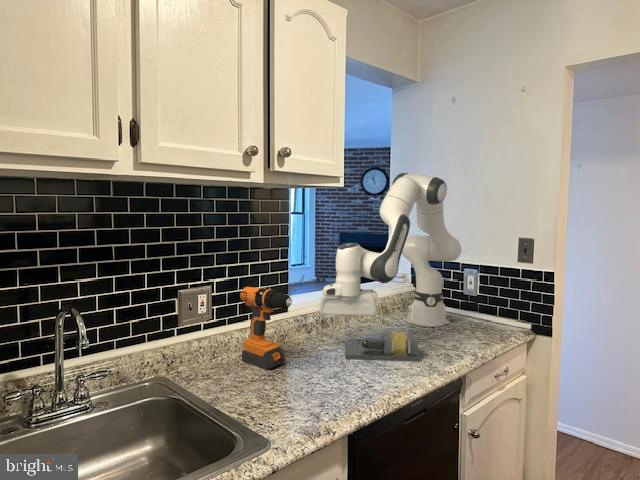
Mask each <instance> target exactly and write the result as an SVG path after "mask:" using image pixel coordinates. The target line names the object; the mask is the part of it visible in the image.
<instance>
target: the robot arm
mask: <svg viewBox="0 0 640 480" xmlns="http://www.w3.org/2000/svg"><path fill="white" fill-rule="evenodd" d="M391 184H392V185H391V187H390V188H389V189H388V191H387V193H386V195H385V196H384V198H383V199H382V202H381V204H380V207H379V210H378V211H379V216H380V218H381V219H382V221H383V222H384V223H385V224H386V225H387V226H388V227H390V235H389V236H388V237H389V238H388V240H387V243H386V247H385V249H384V250H383V251H382V252H374V251H370V250H368V249H365V248H363V247H362V246H361V245H360V244H359V243H356V242H344V243H342V244H340V245H339V246H338V248H337V250H336V256H335V271H336V275H335V276H336V277H335V282H334V283H330V284H328V285H325V286H324V287H323V289H322V295H321V297H320V302H319V306H318V307H319V310H318V312H319V314H320V315H322V316H323V315H325V316H340V320H341V322H342V323H343V324H342V325H343V326H342V327H343V328H352V323H353V322H354V320H355V316H356V317H357V316H358V317H359V316H360V317H361V316H362V317H364V316H365V317H374V316H375V315H377V306H376V302H377V301H378V293H377V291H376V290H374V289H370V288H369V289H365V288H364V289H363V288H361V285H362V284H361V278H362V277H363V278H366V279H370V280H373V281H376V282H379V283H381V284H388V283H390V282H392V281H393V280H394V279H395V278H396V276H397V274H398V273H399V272H398V271H399V266H400V259H401V256H402V255H403V257H404V258H405V259H407V260H408V261H409V262H410V263H411V265H412V267H413V269H414V272H415V283H416V284H415V286H416V287H415V291H414V301H412V304H410V305H408V311H410V312H408V313H407V316H406V323H408V324H413V325H417V326H421V327H427V328H428V327H435V328H436V327H443V326H445V325H449V324H450V321H449V320H448V319H446V315H447V314H446V305H445V303H444V302H443V296H444V295H443V291H442V290H443V288H442V286H443V276H442V273H441V272H440V271H438V270H437V269H435V268H434V267H433V266H431V265H430V263H429V262H431V261H432V262H453V261H456V260H458V258H459V257H460V256H461V252H462V246H461V243H460V241H459V240H458V238H456V237H454V236H453V235H452V234H451V233H450V232H449V231H448V229H447V228H446V224H445V218H444V200H445V198H446V195H447V192H448V191H447V190H448V187H447V183H446V182H445V180H444V179H442V178H440V177H438V176H437V177H436V176H431V175H426V174H422V173H421V174H419V173H408V172H402V173H399V174H397V175H396V176H395V177H394V179H393V180H392V183H391ZM415 203H416V224H417V227H418V228H419V230H421V231H422V232H423V233H426V234H427V235H420V234H419V235H417V234H416V235H409V233H410V229H411V221H410V218H409V217H410V215H411V213H412V212H411V211H412V210H413V208H414V206H415ZM408 235H409V236H408ZM345 316H350V319H349V321H347V320H345Z"/></svg>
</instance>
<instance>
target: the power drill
mask: <svg viewBox="0 0 640 480" xmlns="http://www.w3.org/2000/svg"><path fill="white" fill-rule="evenodd" d="M239 297H240V300H241V301H242V302H243V303H244V304H245V306H246V308H247V307H248V308H249V309H250V310H251V318H250V325H249V326H250V337H249V338H246V339H245V340H244V341H243V350H241V360H242V362H245V363H248V364H249V365H253V366H255V367H257V368H259V369H260V368H261V369H263V370H266V371H267V370H269V369H273V368H275V367H278V366H280V365H281V364H284V363H285V361H286V360H285V359H286V357H285V354H284V352H283V350H282V347H281V345H280V344H279V343H275V342H274V341H271V340H268V339H265V335H266V334H265V333H266V325H267V323H266V322H267V321H271V314H272V313H273V312H274V309H275V310H277V309H279V310H280V309H282V310H283V309H284V310H286V309H288V308H289V307H290V306H291V305H292V304H293V300H292V298H291V296H290V295H289V294H286V293H283V292H280V291H278V290H276V289H272V288H266V287H260V288H259V287H252V286H245V287H243V289H242V290H241V291H240V293H239Z"/></svg>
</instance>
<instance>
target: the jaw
mask: <svg viewBox="0 0 640 480" xmlns="http://www.w3.org/2000/svg"><path fill="white" fill-rule="evenodd" d="M391 335H392V333H391V332H388V331H387V332H382V336H381V337H382V338H381V339H376V338H375V339H372V338H371V339H369V338H367V339H363V340H362V341H361V344H362V346H363V347H364V348H368V349H383V351H384V354H388V355H392V353H393V339H392V336H391Z"/></svg>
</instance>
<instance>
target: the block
mask: <svg viewBox="0 0 640 480" xmlns="http://www.w3.org/2000/svg"><path fill="white" fill-rule="evenodd" d="M406 335H407V334H406V333H405V331H402V332H401V331H391V336H392V339H393V353H406Z"/></svg>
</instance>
